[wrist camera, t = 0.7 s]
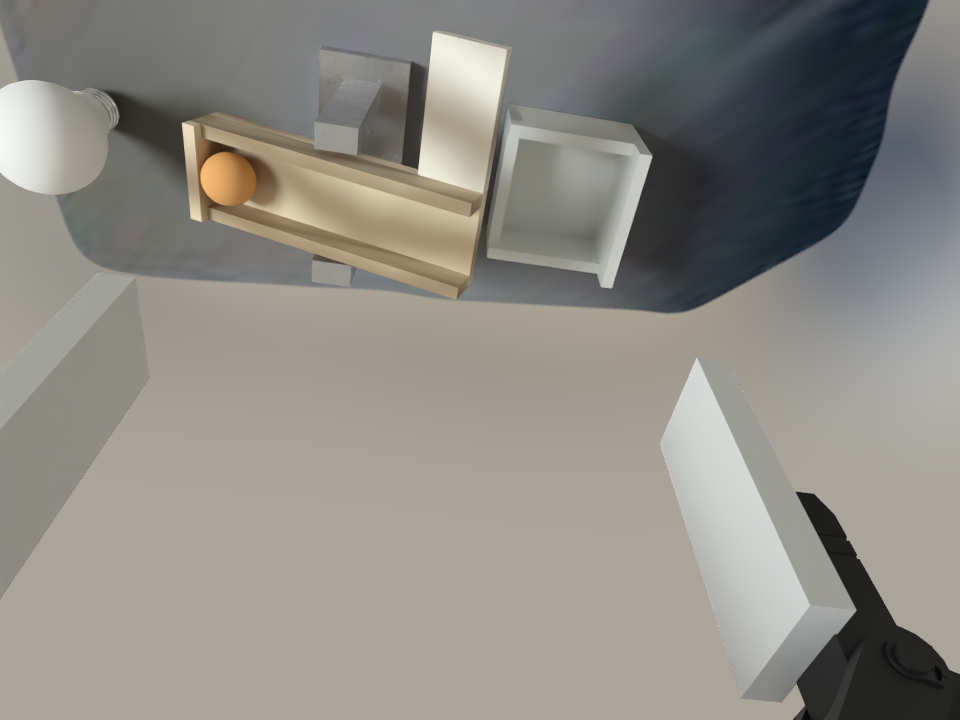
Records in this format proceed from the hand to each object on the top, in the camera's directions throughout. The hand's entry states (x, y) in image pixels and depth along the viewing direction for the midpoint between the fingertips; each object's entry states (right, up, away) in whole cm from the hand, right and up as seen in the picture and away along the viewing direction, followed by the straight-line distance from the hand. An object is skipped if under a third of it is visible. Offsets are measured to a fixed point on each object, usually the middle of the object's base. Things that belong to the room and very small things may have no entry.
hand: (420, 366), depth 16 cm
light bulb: (-25, +18, +32) cm, 45 cm away
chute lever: (-6, +14, +25) cm, 29 cm away
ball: (-14, +11, +25) cm, 31 cm away
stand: (-7, +16, +33) cm, 38 cm away
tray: (+7, +14, +35) cm, 38 cm away
